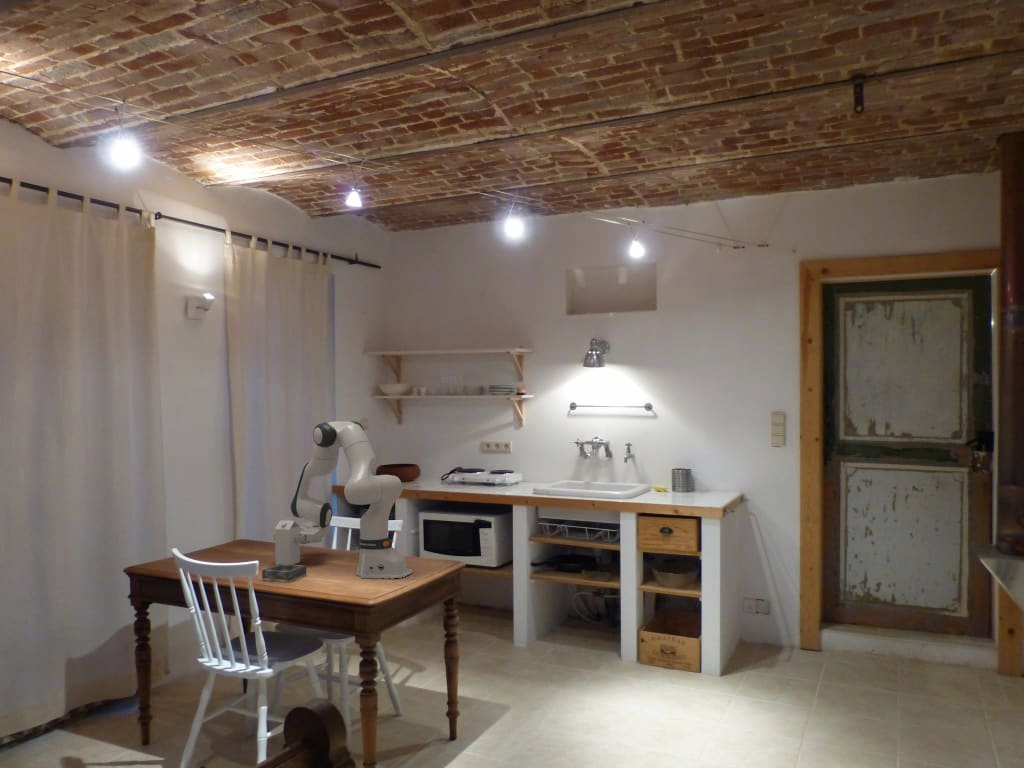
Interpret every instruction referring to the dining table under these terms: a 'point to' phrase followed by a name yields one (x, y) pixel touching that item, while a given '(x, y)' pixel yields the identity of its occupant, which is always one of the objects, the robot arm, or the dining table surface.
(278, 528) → the milk carton
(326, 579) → the dining table surface
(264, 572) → the square glass ashtray
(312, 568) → the dining table surface
